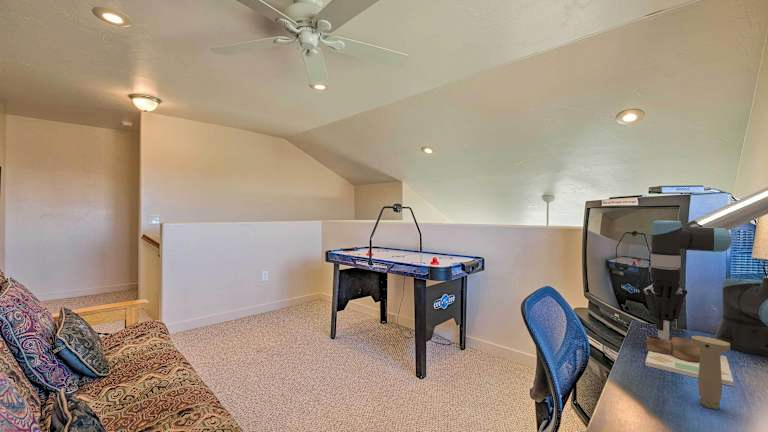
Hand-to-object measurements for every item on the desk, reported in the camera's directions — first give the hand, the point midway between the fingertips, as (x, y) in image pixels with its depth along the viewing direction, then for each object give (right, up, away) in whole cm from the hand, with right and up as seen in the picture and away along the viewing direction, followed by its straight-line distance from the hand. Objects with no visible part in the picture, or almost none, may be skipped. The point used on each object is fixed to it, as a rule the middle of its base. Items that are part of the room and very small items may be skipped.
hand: (663, 340), depth 112 cm
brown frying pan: (-2, -2, -7) cm, 7 cm away
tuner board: (-1, -3, -9) cm, 10 cm away
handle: (-16, -3, -33) cm, 37 cm away
